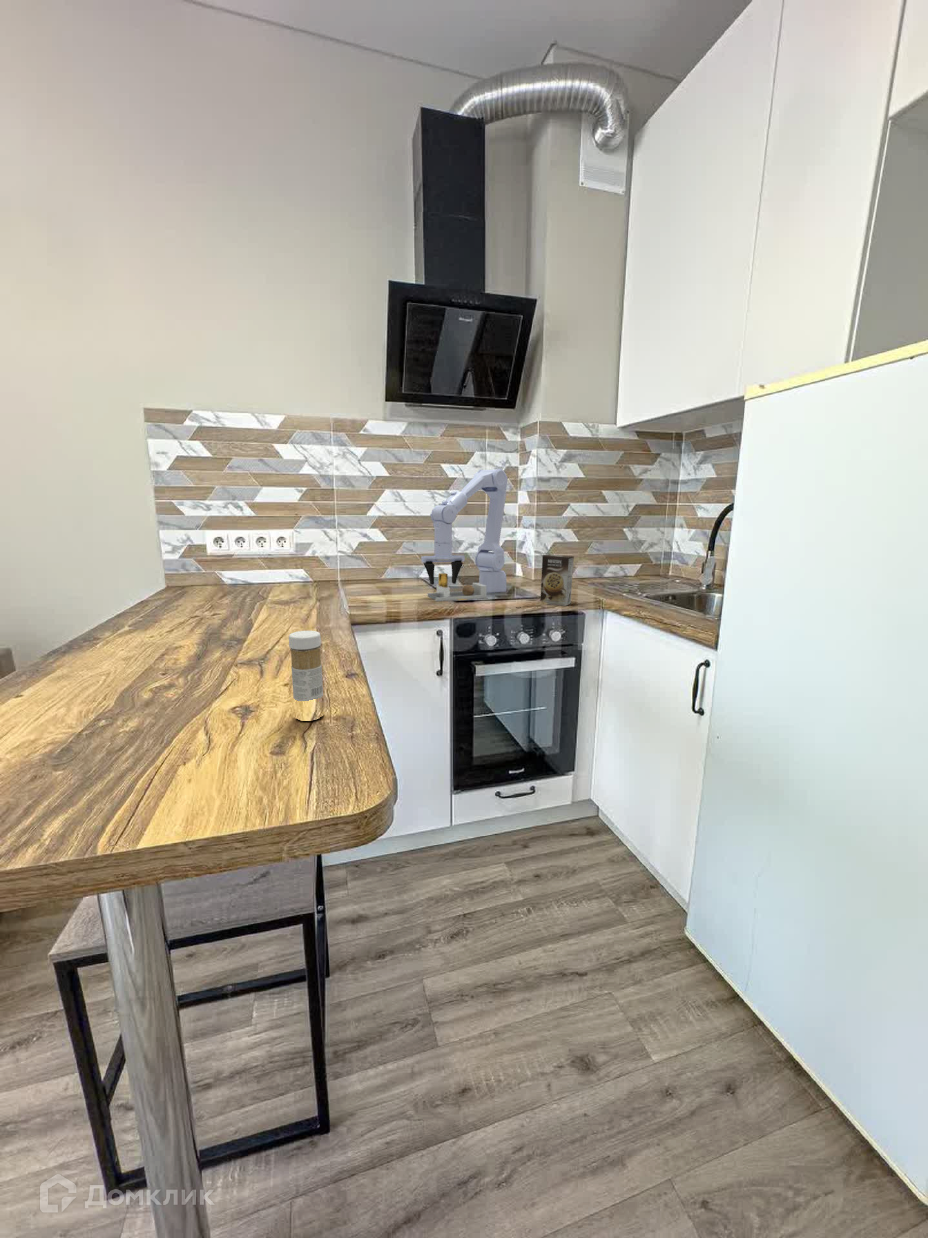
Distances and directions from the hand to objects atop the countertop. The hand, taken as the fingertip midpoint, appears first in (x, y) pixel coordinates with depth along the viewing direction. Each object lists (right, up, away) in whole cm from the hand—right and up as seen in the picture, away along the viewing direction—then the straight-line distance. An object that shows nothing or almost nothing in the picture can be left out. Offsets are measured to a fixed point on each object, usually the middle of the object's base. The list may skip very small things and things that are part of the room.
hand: (443, 583), depth 175 cm
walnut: (+8, -4, +4) cm, 10 cm away
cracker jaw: (0, -4, +1) cm, 4 cm away
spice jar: (-17, -27, -93) cm, 99 cm away
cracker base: (+5, -6, +3) cm, 8 cm away
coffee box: (+38, -7, +2) cm, 38 cm away
